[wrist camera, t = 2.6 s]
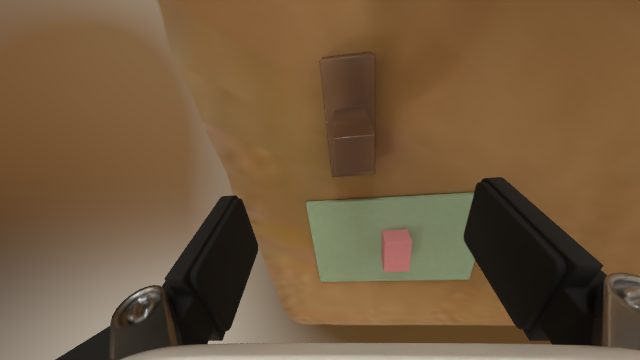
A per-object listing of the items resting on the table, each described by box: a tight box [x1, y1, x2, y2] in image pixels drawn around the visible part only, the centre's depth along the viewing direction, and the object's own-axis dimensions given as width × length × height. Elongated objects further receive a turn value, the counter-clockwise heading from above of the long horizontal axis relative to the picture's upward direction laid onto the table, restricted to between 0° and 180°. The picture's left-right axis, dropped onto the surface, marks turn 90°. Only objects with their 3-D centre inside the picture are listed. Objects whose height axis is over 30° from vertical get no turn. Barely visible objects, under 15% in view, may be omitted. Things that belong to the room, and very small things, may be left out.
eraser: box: [382, 229, 412, 272], centre depth 29 cm, size 3×5×2 cm, turn 7°
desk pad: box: [306, 192, 475, 282], centre depth 30 cm, size 20×14×1 cm
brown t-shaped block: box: [320, 51, 375, 177], centre depth 19 cm, size 4×10×8 cm, turn 7°
